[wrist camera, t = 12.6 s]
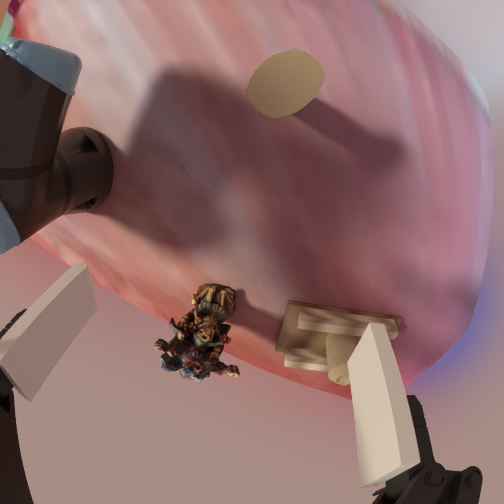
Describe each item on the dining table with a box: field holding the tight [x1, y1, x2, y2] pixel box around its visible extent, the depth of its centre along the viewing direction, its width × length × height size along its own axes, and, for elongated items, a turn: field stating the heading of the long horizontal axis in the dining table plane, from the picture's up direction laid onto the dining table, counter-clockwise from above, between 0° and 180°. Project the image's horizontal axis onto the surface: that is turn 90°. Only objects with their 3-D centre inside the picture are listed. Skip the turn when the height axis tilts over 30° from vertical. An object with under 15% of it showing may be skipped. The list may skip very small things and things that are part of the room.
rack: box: [275, 300, 402, 372], centre depth 46 cm, size 22×12×5 cm, turn 82°
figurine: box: [154, 283, 240, 382], centre depth 39 cm, size 11×9×18 cm
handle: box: [246, 49, 325, 119], centre depth 24 cm, size 5×6×15 cm
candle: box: [325, 333, 356, 386], centre depth 42 cm, size 6×6×10 cm
